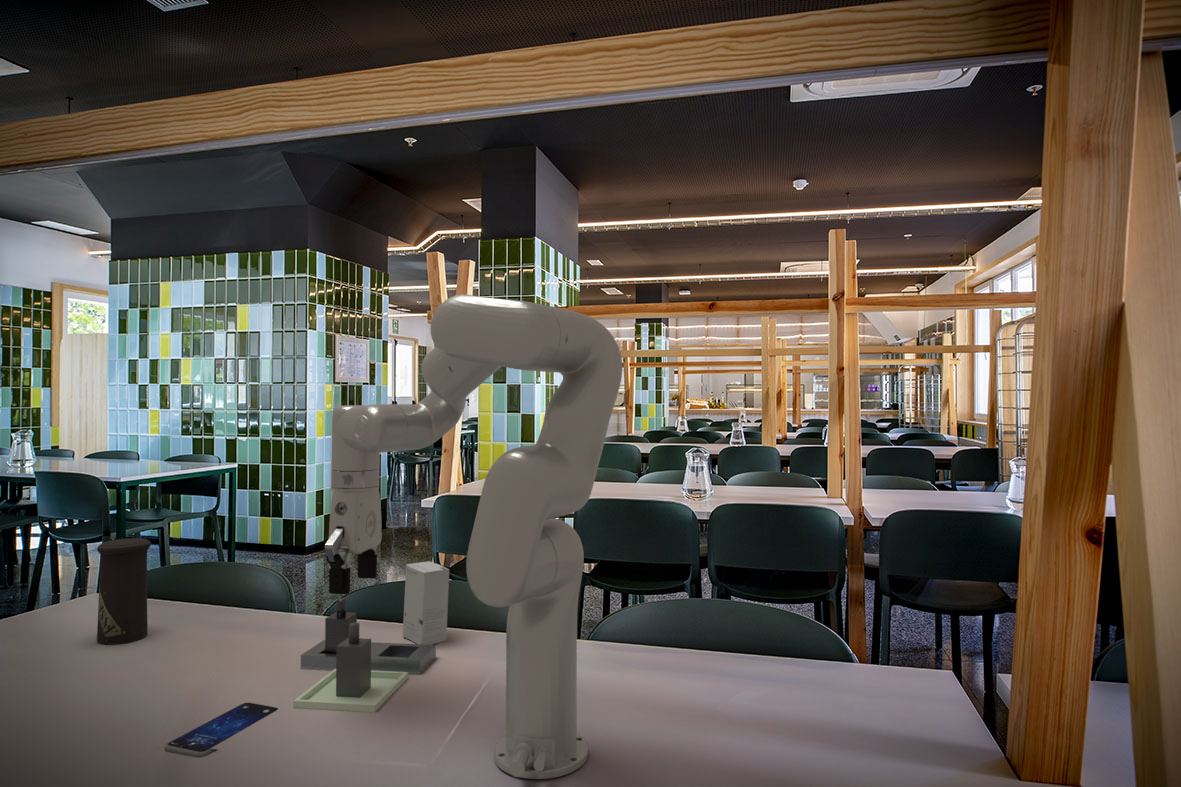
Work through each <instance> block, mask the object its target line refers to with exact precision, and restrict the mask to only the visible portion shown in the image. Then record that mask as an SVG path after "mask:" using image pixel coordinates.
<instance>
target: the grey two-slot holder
mask: <svg viewBox="0 0 1181 787" xmlns="http://www.w3.org/2000/svg"><path fill="white" fill-rule="evenodd" d="M357 618H358V616H357V612H347V598H346V597H339V598H337V599H336V611H335V612H334V613H332V614H330V615H329V616H327V617H326V618H325V620H324V621H325V622H324V623H325V624H324V626H325V628H324V629H325V631H324V635H325V636H324V639H323V640H322V641H320V642H319V643H317V644H316V645H314V646H313V647H310V648H309V649H308V650H307V651H305V652H304V653H302V654H301V655H300V669H303V670H323V671H333V670H334V669H336V649H337V646H338V645H339V644H340V643H342V642H343V641H345V640H346V639H347V638H349V624H350V623H354V622H357V623H358V619H357ZM436 658H437V644H431V645H423V644H416V643H400V642H399V643H397V642H396V643H395V642H394V643H393V642H376V641H375V642H374V641H373V642H372V641H371V670H373V671H394V672H408V675H421V674H422V673H423V672H424V671H425V670H426V669H427V668H428V667H429V665H431V663H433V661H434V660H435V659H436Z"/></svg>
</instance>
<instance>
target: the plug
mask: <svg viewBox="0 0 1181 787" xmlns="http://www.w3.org/2000/svg"><path fill="white" fill-rule="evenodd" d="M371 642H372V638H363V637H362V638H360V623H359V622H358V621H357V622H354V623H350V624H349V638H347V639H346V640H345V641H343V642H342V643H340V644H339V645H338V646H337V649H336V697H355V698H360V697H361V696H362V695H363V694H364V693H366V692H367V691H368V690H369V689H370V688H371Z"/></svg>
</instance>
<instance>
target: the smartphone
mask: <svg viewBox="0 0 1181 787" xmlns="http://www.w3.org/2000/svg"><path fill="white" fill-rule="evenodd" d="M278 710H279V708H278V707H276V706H271V705H264V704H260V703H255V702H243V703H241V704H239V705H237V706H235V707H233V708H232V709H229V710H228V711H226V712H224V713H222V714H220V715H218V716H215V717H214V718H212V719H210V720H209V721H207V722H205V723H202V724H201V725H199V726H197V727H195V728H194V729H192V730H189V731H188V732H186V733H184V734H182V735H180V736H178V737H176V738H175V739H172V740H171V741H169V742H167V743H165V746H164V751H165V752H168V753H175V754H178V755H184V756H188V757H192V758H193V757H194V758H203V757H207V756H209V755H211V754H213V753H215V752H216V751H218V750H219V749H218V748H214V747H215V746H216V747H217V746H218V745H219V744H221V743H223V742H225V741H227V740H228V739H229V738H231V737H234V736H235V735H237V734H239V733H240V732H242V731H243V730H246V729H247V728H249V727H251V726H252V725H254V724H256V723H257V722H259V721H261V720H263V719H265V718H266V717H268V716H270V715H271V714H274V713H275V712H277V711H278Z"/></svg>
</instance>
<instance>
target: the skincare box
mask: <svg viewBox="0 0 1181 787" xmlns="http://www.w3.org/2000/svg"><path fill="white" fill-rule="evenodd" d="M404 582H405V583H404V600H403V601H404V603H403V619H402V620H403V622H402V637H403V638H405V639H406V640H409V641H411V642H412V643H414V644H423V645H436V644H439V643H443V641H444V642H446V641H447V632H448V630H447V629H448V612H449V611H448V610H449V606H448V605H449V590H450V589H449V584H450V569H449V568H447V567H445V566H442V565H441V564H439V563H436V562H432V561H429V560H428V561H421V562H414V563H407V564H405V581H404Z"/></svg>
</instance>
